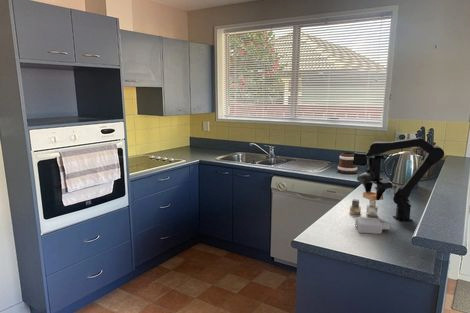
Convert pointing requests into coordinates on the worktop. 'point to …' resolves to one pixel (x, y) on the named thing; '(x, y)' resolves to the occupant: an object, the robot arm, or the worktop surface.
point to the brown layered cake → (347, 164)
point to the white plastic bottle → (370, 225)
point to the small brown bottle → (355, 207)
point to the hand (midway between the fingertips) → (372, 198)
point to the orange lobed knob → (372, 209)
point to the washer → (371, 196)
